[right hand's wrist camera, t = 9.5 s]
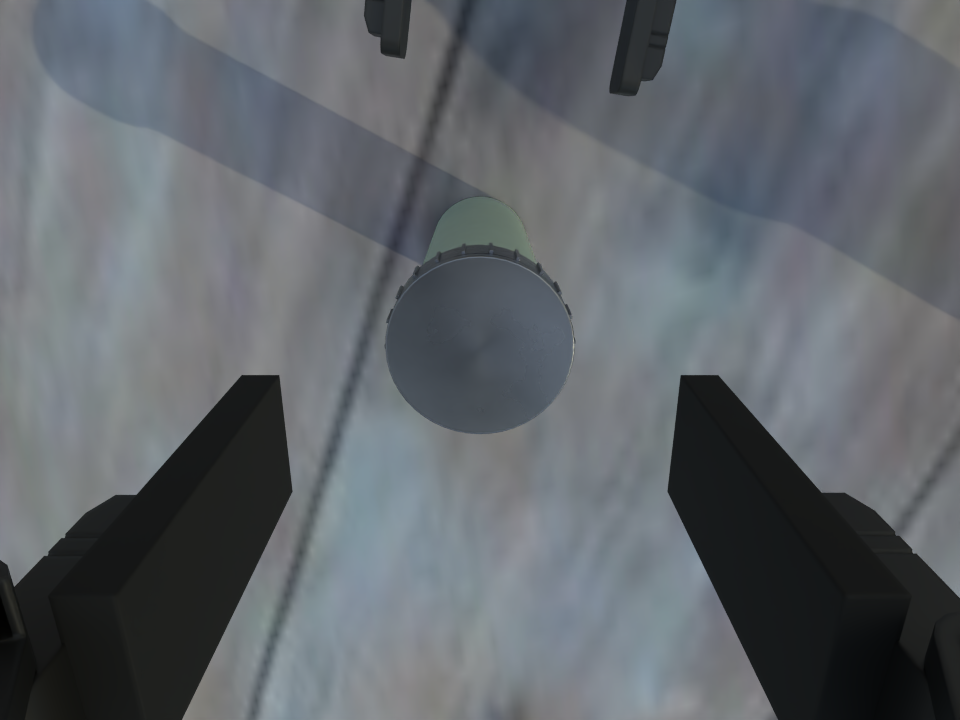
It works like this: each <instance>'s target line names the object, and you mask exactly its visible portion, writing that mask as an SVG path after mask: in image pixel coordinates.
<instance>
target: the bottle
mask: <svg viewBox="0 0 960 720" xmlns="http://www.w3.org/2000/svg"><path fill="white" fill-rule="evenodd" d="M464 243H466V246H468V245H489V243H493V246H497V247H502V248H506V249H509V250H512V251H515V249H517V250H519V254H521V255H523V256H525V257H527V258H528V259H530V260H531V261H533V262H534V263H536V260H535V257H534V254H533V251H532V249H531V246H530V243H529V240H528V237H527V235H526V232H525V229H524V226H523V224H522V222H521V220H520V219H519V217H518V216H517V214H516V213H515V212H514V211H513V210H512V209H511V208H510V207H509V206H507V205H506V204H504V203H502V202H500V201H499V200H496V199H493V198H488V197H472V198H467V199H464V200H462V201H459V202H457V203H456V204H454V205H453V206H451V207H450V208H449V209H448V210H447V211H446V212H445V213H444V214H443V215H442V217H441V219H440V220H439V222H438V224H437V226H436V229H435V232H434V235H433V237H432V240H431V243H430V246H429V249H428V251H427V254H426V257H425V260H424V263H426V262H427V261H429V260H430V259H432V258H433V257H435V256H436V253H437V252H439V251H440V252H441V253H443V252H445V251H448V250H451V249H454V248H457V247H462V244H464ZM424 263H423V264H424ZM536 264H537V263H536Z"/></svg>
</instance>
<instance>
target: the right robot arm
mask: <svg viewBox="0 0 960 720" xmlns="http://www.w3.org/2000/svg"><path fill="white" fill-rule="evenodd" d="M291 493H292V483H291V474H290V466H289V457H288V448H287V439H286V431H285V422H284V413H283V404H282V396H281V387H280V378H279V375H242V376H241V377H240V378H239V379H238V380H237V381H236V383H235V384H234V385H233V386H232V387H231V388H230V389H229V390H228V392H227V393H226V394H225V395H224V396H223V397H222V398H221V400H220V401H219V402H218V403H217V404H216V405H215V406H214V408H213V409H212V410H211V411H210V412H209V413H208V414H207V415H206V417H205V418H204V419H203V420H202V421H201V422H200V423H199V425H198V426H197V427H196V428H195V429H194V430H193V431H192V433H191V434H190V435H189V436H188V437H187V438H186V439H185V440H184V442H183V443H182V444H181V445H180V446H179V447H178V448H177V450H176V451H175V452H174V453H173V454H172V455H171V456H170V458H169V459H168V460H167V461H166V462H165V463H164V464H163V466H162V467H161V468H160V469H159V470H158V471H157V472H156V473H155V475H154V476H153V477H152V478H151V479H150V480H149V481H148V483H147V484H146V485H145V486H144V487H143V488H142V489H141V491H140V492H139V493H138V494H137V495H115V496H113V497H112V498H110V499H108V500H107V501H105V502H103V503H102V504H100V505H98V506H97V507H95V508H93V509H92V510H90V511H88V512H87V513H85V514H84V515H83V516H82V517H81V519H80V520H79V521H78V522H77V523H76V524H75V525H74V526H73V527H72V528H71V529H70V530H69V531H68V532H67V533H66V536H65V538H61V539H60V540H59V541H58V542H57V543H56V544H55V545H54V546H53V548H52V549H51V550H50V551H49V554H48V556H44V557H43V558H42V559H41V560H40V561H39V562H38V563H37V564H36V565H35V566H34V567H33V568H32V569H31V570H30V571H29V572H28V573H27V574H26V575H25V577H24V578H23V579H22V580H21V581H20V582H19V583H18V584H17V585H16V586H15V587H14V585H13V582H12V579H11V576H10V572H9V569H8V566H7V565H6V564H5V563H4V562H2V561H1V560H0V720H182V718H183V716H184V714H185V712H186V710H187V708H188V706H189V704H190V702H191V700H192V698H193V696H194V694H195V691H196V689H197V687H198V685H199V683H200V681H201V679H202V677H203V675H204V673H205V671H206V669H207V667H208V665H209V663H210V661H211V658H212V656H213V654H214V652H215V650H216V648H217V646H218V644H219V642H220V640H221V638H222V636H223V634H224V632H225V630H226V628H227V625H228V623H229V621H230V619H231V617H232V615H233V613H234V611H235V609H236V607H237V605H238V603H239V601H240V599H241V597H242V595H243V592H244V590H245V588H246V586H247V584H248V582H249V580H250V578H251V576H252V574H253V572H254V570H255V568H256V566H257V564H258V562H259V559H260V557H261V555H262V553H263V551H264V549H265V547H266V545H267V543H268V541H269V539H270V537H271V535H272V533H273V531H274V529H275V526H276V524H277V522H278V520H279V518H280V516H281V514H282V512H283V510H284V508H285V506H286V504H287V502H288V500H289V498H290V496H291ZM668 493H669V495H670V498H671V500H672V502H673V504H674V506H675V508H676V510H677V512H678V514H679V516H680V518H681V520H682V522H683V524H684V526H685V529H686V531H687V533H688V535H689V537H690V539H691V541H692V543H693V545H694V547H695V549H696V551H697V553H698V555H699V557H700V559H701V562H702V564H703V566H704V568H705V570H706V572H707V574H708V576H709V578H710V580H711V582H712V584H713V586H714V588H715V590H716V592H717V595H718V597H719V599H720V601H721V603H722V605H723V607H724V609H725V611H726V613H727V615H728V617H729V619H730V621H731V623H732V625H733V628H734V630H735V632H736V634H737V636H738V638H739V640H740V642H741V644H742V646H743V648H744V650H745V652H746V654H747V656H748V658H749V661H750V663H751V665H752V667H753V669H754V671H755V673H756V675H757V677H758V679H759V681H760V683H761V685H762V687H763V689H764V691H765V694H766V696H767V698H768V700H769V702H770V704H771V706H772V708H773V710H774V712H775V714H776V716H777V718H778V720H960V598H959V597H958V596H957V595H956V594H955V593H954V592H953V591H952V590H951V589H950V588H949V587H948V586H947V585H946V584H945V583H944V581H943V580H942V579H941V578H940V577H939V576H938V575H937V574H936V573H935V572H934V571H933V570H932V569H931V568H930V567H929V566H928V565H927V564H926V563H925V562H924V561H923V560H922V559H921V558H920V557H919V556H918V555H917V554H913V553H912V549H911V548H910V546H909V545H908V544H907V543H906V542H905V541H904V540H903V539H902V538H901V537H900V536H896V535H895V531H894V530H893V529H892V528H891V527H890V526H889V525H888V524H887V523H886V522H885V521H884V520H883V519H882V518H881V517H880V516H879V515H878V514H877V513H876V512H875V511H874V510H873V509H871V508H869V507H868V506H866V505H864V504H863V503H861V502H859V501H858V500H856V499H854V498H852V497H851V496H849V495H847V494H846V493H821V492H820V491H819V489H818V488H817V487H816V486H815V485H814V484H813V483H812V481H811V480H810V479H809V478H808V477H807V476H806V475H805V473H804V472H803V471H802V470H801V469H800V468H799V467H798V466H797V464H796V463H795V462H794V461H793V460H792V459H791V458H790V456H789V455H788V454H787V453H786V452H785V451H784V450H783V448H782V447H781V446H780V445H779V444H778V443H777V442H776V440H775V439H774V438H773V437H772V436H771V435H770V434H769V433H768V431H767V430H766V429H765V428H764V427H763V426H762V425H761V423H760V422H759V421H758V420H757V419H756V418H755V417H754V415H753V414H752V413H751V412H750V411H749V410H748V409H747V408H746V406H745V405H744V404H743V403H742V402H741V401H740V400H739V398H738V397H737V396H736V395H735V394H734V393H733V392H732V390H731V389H730V388H729V387H728V386H727V385H726V384H725V383H724V381H723V380H722V379H721V378H720V377H719V376H718V375H681V378H680V387H679V396H678V404H677V413H676V422H675V431H674V439H673V448H672V457H671V466H670V474H669V483H668Z"/></svg>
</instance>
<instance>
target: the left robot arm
mask: <svg viewBox="0 0 960 720" xmlns="http://www.w3.org/2000/svg"><path fill="white" fill-rule="evenodd" d="M411 1H412V0H365V11H364V17H365V21H366V25H367V28H368V32H369V33H370V34H372V35H373V36H376V37H381V53H382V54H384V55H385V56H390V57H396V58H403V59H405V56H406V50H407V41H408V31H409V21H410V11H411ZM675 4H676V0H627V2H626V7H625V12H624V17H623V22H622V27H621V32H620V36H619V41H618V46H617V51H616V56H615V61H614V66H613V71H612V76H611V81H610V93H612V94H618V95H624V96H635V95H636V94H637V92H638V89H639V86H640V83H641V81H650V80H653V79H654V77H655V76H656V74H657V72H658V71H659V69H660V68H661V66H662V62H663V57H664V53H665V47H666V44H667V40H668V34H669V31H670V26H671V22H672V17H673V13H674V8H675Z"/></svg>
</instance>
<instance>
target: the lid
mask: <svg viewBox="0 0 960 720" xmlns="http://www.w3.org/2000/svg"><path fill="white" fill-rule="evenodd" d="M561 294H562V292H561V290H560V288H559V286H558V283H557V282H554V283H553V281H552V280H551V278H550V277H549V276H548V275H547V274H546V273H545V271H543V269H542V266H541V264H540V263H539V262H538V263H537V264H536V263H534V262H533V261H531V260H530V259H528V258H527V257H525V256H523V255H521V254H519V250H517V249H515V251H512V250H509V249H506V248H502V247H497V246H493V243H489V245H468V246H466V243H464V244H462V247H457V248H454V249H451V250H448V251H445V252H443V253H441V252H440V251H439V252H437V253H436V256H435V257H433V258H432V259H430V260H429V261H427V262H426V263H424V264H423V265H422V266H421V267H419V266H417V267H416V268H415V270H414V273H413V275H412V276H411V277H410V278H409V279H408V281H407V283H406V284H405V286H404V287H403V286H401V287H400V289H399V291H398V293H397V295H396V299H397V301H396V304H395V306H394V308H393V309H391V311H390V314H389V316H388V318H387V321H386V323H388V326H387V332H386V343H385V349H386V358H387V363H388V367H389V371H390V373H391V376H392V378H393V381H394V383H395V385H396V386H397V388H398V390H399V392H400V393H401V394H402V396H403V397H404V398H405V400H406V401H407V402H408V403H409V404H410V405H411V406H412V407H413V408H414V409H415V410H416V411H417V412H419V413H420V414H421V415H423V416H424V417H425V418H427V419H429V420H430V421H432V422H434V423H436V424H438V425H440V426H442V427H445V428H448V429H451V430H454V431H458V432H464V433H472V434H489V433H496V432H502V431H506V430H509V429H512V428H515V427H517V426H520V425H522V424H524V423H526V422H528V421H530V420H531V419H533V418H535V417H536V416H537V415H539V414H540V413H541V412H543V411H544V410H545V409H546V408H547V407H548V406H549V405H550V404H551V403H552V402H553V401H554V399H555V398H556V397H557V396H558V394H559V393H560V391H561V390H562V388H563V386H564V385H565V383H566V380H567V378H568V376H569V373H570V370H571V367H572V363H573V357H574V344H575V338H574V333H573V326H572V323H571V318H573V317H572V314H571V312H570V310H569V307H568V305H567V304H566V305H565V304H564V302H563V299H562V297H561Z"/></svg>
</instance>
